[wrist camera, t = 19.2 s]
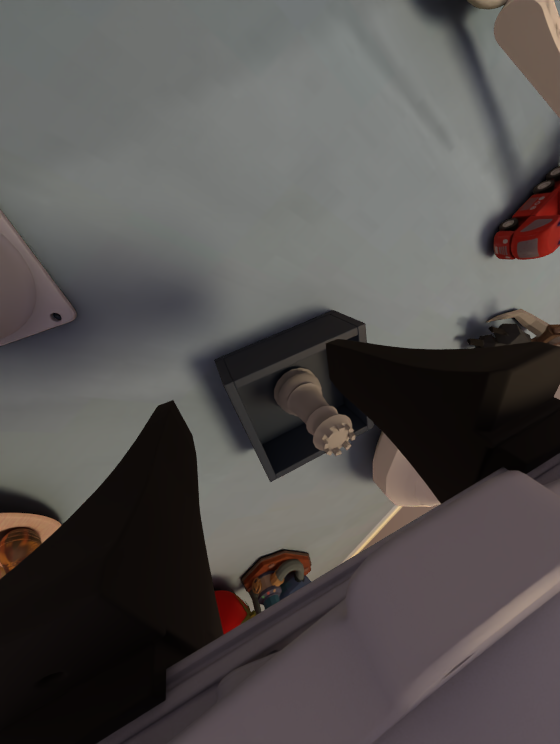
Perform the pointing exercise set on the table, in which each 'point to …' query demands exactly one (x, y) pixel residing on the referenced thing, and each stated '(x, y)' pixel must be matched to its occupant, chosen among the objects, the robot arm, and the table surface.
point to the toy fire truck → (533, 224)
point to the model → (276, 577)
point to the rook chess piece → (313, 410)
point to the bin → (260, 375)
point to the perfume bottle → (22, 537)
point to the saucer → (487, 3)
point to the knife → (533, 44)
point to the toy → (518, 331)
